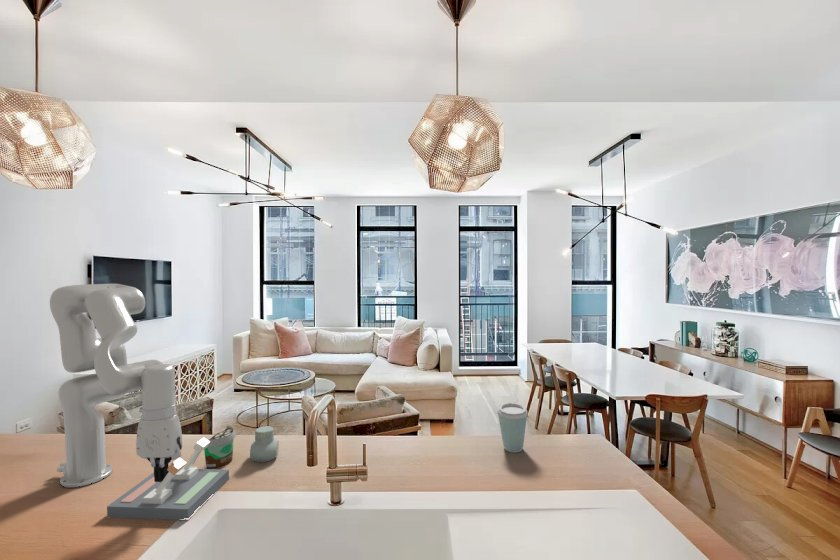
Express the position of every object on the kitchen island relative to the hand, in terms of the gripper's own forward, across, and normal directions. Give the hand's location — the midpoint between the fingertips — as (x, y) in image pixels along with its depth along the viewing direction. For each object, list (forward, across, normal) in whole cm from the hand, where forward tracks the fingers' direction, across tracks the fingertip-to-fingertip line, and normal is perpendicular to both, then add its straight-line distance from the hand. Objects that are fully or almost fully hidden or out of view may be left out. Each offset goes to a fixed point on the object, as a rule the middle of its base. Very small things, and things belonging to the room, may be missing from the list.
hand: (161, 479), depth 110 cm
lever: (+4, -2, +12) cm, 13 cm away
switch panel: (+9, -2, +6) cm, 11 cm away
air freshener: (+9, +14, +31) cm, 35 cm away
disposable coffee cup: (+8, +99, +43) cm, 108 cm away
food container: (+9, +2, +26) cm, 28 cm away
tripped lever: (+4, -2, 0) cm, 4 cm away
